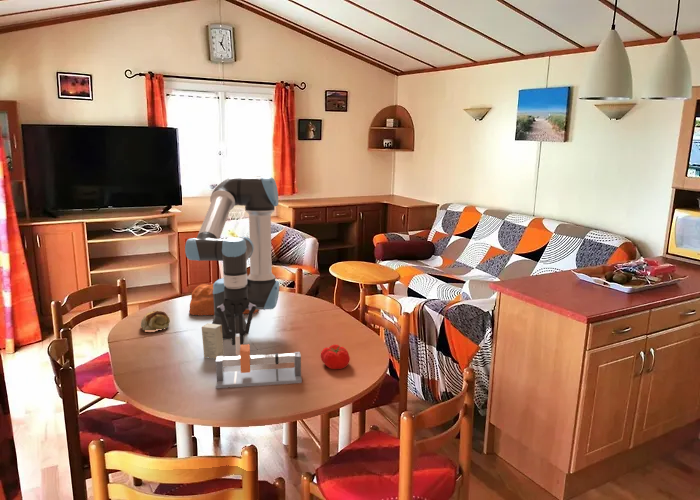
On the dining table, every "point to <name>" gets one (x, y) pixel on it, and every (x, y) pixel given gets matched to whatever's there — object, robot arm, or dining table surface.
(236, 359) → the rail
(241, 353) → the collar
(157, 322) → the pastry
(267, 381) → the board
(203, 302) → the bread
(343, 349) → the tomato
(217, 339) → the skincare box
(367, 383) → the dining table surface
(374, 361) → the dining table surface
